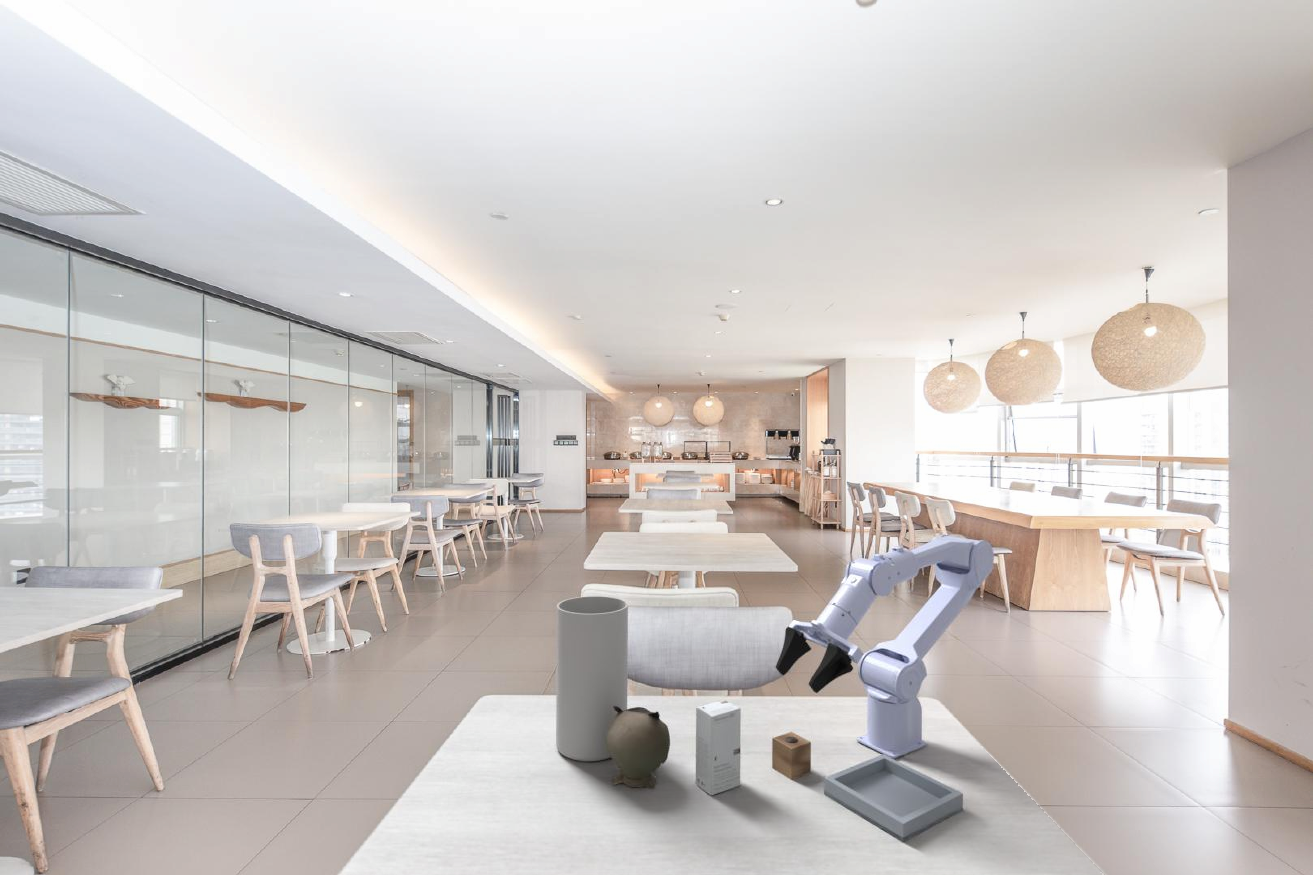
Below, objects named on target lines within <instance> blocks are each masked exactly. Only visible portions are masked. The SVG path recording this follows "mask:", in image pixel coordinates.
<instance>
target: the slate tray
mask: <svg viewBox="0 0 1313 875" xmlns="http://www.w3.org/2000/svg"><path fill="white" fill-rule="evenodd" d="M823 779H824V780H823V794H824V795H825V796H826V797H828V798H830V799H831V800H832V801H834V802H836V803H838V804H840V805H841V806H842V807H844V808H846V809H847V810H849V811H851V812H853V813H854V814H855V815H857V816H859V817H861V818H863V819H864V820H866V821H868V823H870V824H872V825H874V826H875V827H877V828H879V829H881V830H882V831H884V832H886V833H887V834H889V835H891V837H893V838H895V839H897V840H898V841H900V842H902V843H905V842H907V841H909V840H910V839H912V838H914V837H916V836H918V835H919V834H921V833H924V832H926V831H927V830H929V829H931V828H932V827H934V826H937V825H939V824H940V823H942V822H944V821H945V820H948V819H949V818H951V817H954V816H955V815H957V814H958V813H959V814H960V813H961V812H963V810H964V793H963V792H961V791H959V790H957V789H955V788H953V787H951V786H948V785H947V784H945V783H943V782H940V781H938V780H936V779H935V778H933V777H930V776H928V775H927V774H924V773H923V772H921V771H919V770H916V769H914V768H912V767H910V766H908V765H906V764H904V763H902V762H900V761H898V760H896V759H895V758H890V757H888V756H886V755H884V754H882V753H881V754H880V755H878V756H875V757H873V758H870V759H867V760H864V761H862V762H860V763H858V764H855V765H853V766H851V767H848V768H845V769H843V770H841V771H838V772H835V773H833V774H830V775H828V776H825V777H824V778H823Z"/></svg>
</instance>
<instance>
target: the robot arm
mask: <svg viewBox="0 0 1313 875" xmlns="http://www.w3.org/2000/svg"><path fill="white" fill-rule="evenodd" d="M994 560H995V553H994V550H993V547H992V545H991V543H990V542H989V541H987V540H983V539H980V540H977V539H972V538H971V539H970V538H964V537H958V536H952V535H948V534H940V535H938V536H933V537H932V540H931V541H928V542H927V543H925V544H922V545H920V546H918V547H915V548H914V549H912V550H910V549H908V548H906V547H903V546H899V545H895V546H892V548H891V551H888V552H884V553H875V554H873V557H871V558H863V557H858V558H856V559H855V560H853V561H852V562H851V561H849V562H848V564H847V565H846V568H845V574H844V578H843V580H842V581H841V582H840V586H839V589H838V590H837V592H836V593H835V594H834V595H833V597H832V598H831V599H830V601H829V602H828V604H827V605H826V607H825V608H824V609H823V610H822V611H821V613H820V615H819V616H818V617H817V619H815V620H814V619H812V620H811V622H806V621H798V620H795V619H794V620H792V622H791V623H790V624H789V626H787V627H786V628H785V632H784V641H783V644H782V648H781V653H780V655H779V658H778V660H777V662H776V665H775V669H776V670H777V671H778V673H779V674H780V675H781V676H785V675H786V674H787V673H788V672H789V671H790V670H791V668H792V667H793V666H794V665H795V664H796V662H797V661H798V660H800V658H802V657H803V656H804V655H805V654H807V653H809V652H810V651H811V650H812V647H811V646H810V644H809V643H808V642H807V641H810V642H812V643H813V644H816V645H818V646H821V647H823V648H825V649H826V650H825V653H824V655H823V657H822V660H821V662H820V663H819V665H818V667H817V668H816V670H815V672H814V673H813V674H812V676H811V678H810V680H809V682H808V685H809V687H810V689H811V690H812V691H813V692H814V693H816V694H818V693H819V692H820V691H821V690H823V689H824V688H825V687H826V686H828V685H830V683H831V682H833V681H835V680H836V679H838V678H839V677H842V676H844V675H846V674H849V673H852V672H853V670H854V667H853V665H852V662H853V663H855V664H857V675H858V678H859V680H860V682H861V683H863V686H864V688H863V689H864V690H865V691H866V692H867V716H866V717H867V720H866V722H867V734H864V735H861V736H858V737H856V742H858V743H861V744H863V745H864V746H866V747H868V748H870V749H873V750H874V751H876V752H878V753H880V754H881V755H882V754H884V755H886V756H888V757H890V758H892V759H896V758H899V757H902V756H903V755H906V754H908V753H912V752H913V751H916V750H918V749H921V748H923V747H926V746H927V742H926V741H924V740H923V739H922V737H923V733H922V732H923V728H922V727H923V709H922V708H923V706H922V704H921V702H920V699H919V698H918V696H917V695H918V694H919V692H920V691H921V690H920V689H921V686H922V683H923V682H924V680H925V678H927V676H928V673H927V668H926V665H925V662H924V660H923V659H924V658H925V657H926V655H927V654H928V653H929V652H930V650H931V649H932V648H933V646H934V645H935V644H936V643H937V642H938V640H939V639H940V638H941V637H942V636H943V634H944V633H945V632H946V631H947V629H948V628H949V627H950V625H952V623H953V622H954V620H956V618H957V617H958V616H959V615H960V613H961V612H962V611H963V610H964V608H966V606H967V604H969V603H970V601H971V600H972V598H973V596H974V594H975V592H976V591H977V589H979V588H980V587H981V585H982V584H983V582H985V580H986V579H988V577H989V576H990V574H991V573H992V571H993V570H994ZM931 566H933V567H934V574H935V580H937V581H938V582H939V583H940V586H939V587H938V589H937V590H936V591H935V592H934V593H933V595H932V596H931V597H930V598H929V599H928V601H926V603H925V604H924V605H923V606H922V607H921V608H920V610H919V611H918V612H917V613H916V614H915V616H914V617H913V618H912V619H911V621H909V622H908V623H907V625H906V626H905V627H904V628H903V629H902V631H901V632H900V633H899V634H898V636H897V637H896V638H895V639H892V640H888V641H883V642H880V643H877V644H876V646H874V648H872V649H870V650H867V651H865V652H863V651H862V649H861V648H860V646H858V645H856V644H854V643H852V642H850V641H849V640H848V639H850V636H851V635H852V634H853V633H854V631H855V629H856V628H857V626H858V625H859V623H860V622H861V620H862V619H863V618H864V616H865V615H866V614H867V612H868V611H869V609H870V608H871V606H872V605H873V604H874V602H875V601H876V599H877V598H878V596H880V597H886V596H887V597H888V596H889V595H890V594H892V591H893V590H894V588H895V586H898V585H899V584H901V583H904V582H907V581H910V580H911V579H912V580H913V579H914V578H916V577H918V576H917V575H918V574H919V571H920V569H923V568H926V567H931Z"/></svg>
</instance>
